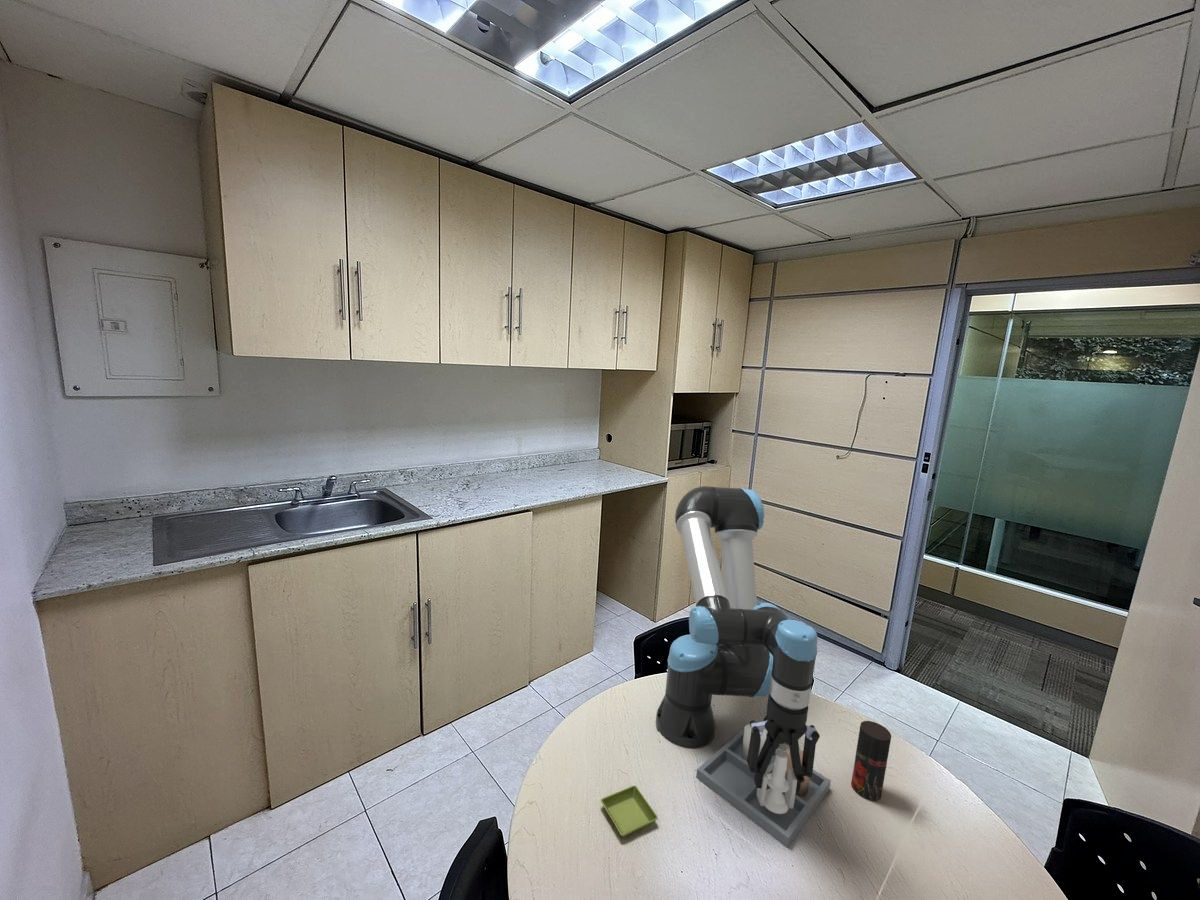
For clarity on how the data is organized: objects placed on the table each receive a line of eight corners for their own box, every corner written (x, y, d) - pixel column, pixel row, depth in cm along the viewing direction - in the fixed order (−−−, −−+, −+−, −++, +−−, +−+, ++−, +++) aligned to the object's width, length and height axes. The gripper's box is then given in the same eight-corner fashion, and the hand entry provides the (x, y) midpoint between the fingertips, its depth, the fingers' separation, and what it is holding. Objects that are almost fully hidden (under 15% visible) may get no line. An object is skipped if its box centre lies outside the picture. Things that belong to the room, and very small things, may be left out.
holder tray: (696, 779, 105) (697, 769, 105) (743, 735, 120) (745, 727, 119) (786, 849, 90) (788, 838, 90) (829, 790, 105) (830, 780, 104)
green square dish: (620, 845, 89) (621, 835, 89) (598, 807, 97) (599, 798, 96) (658, 827, 93) (658, 818, 93) (634, 793, 101) (635, 784, 101)
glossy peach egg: (776, 784, 105) (780, 756, 104) (787, 771, 109) (791, 744, 108) (801, 801, 101) (805, 771, 100) (811, 787, 105) (815, 759, 104)
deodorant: (885, 805, 102) (895, 742, 100) (855, 799, 103) (865, 737, 101) (875, 783, 107) (885, 723, 106) (847, 777, 109) (856, 718, 107)
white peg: (757, 791, 100) (764, 740, 99) (782, 792, 100) (789, 742, 99) (766, 813, 95) (773, 760, 93) (792, 815, 95) (800, 762, 93)
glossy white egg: (736, 757, 112) (740, 730, 111) (748, 746, 116) (751, 720, 115) (758, 771, 108) (761, 744, 107) (769, 759, 112) (773, 733, 111)
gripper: (748, 707, 91) (735, 813, 94) (843, 715, 91) (826, 821, 94) (738, 683, 98) (726, 782, 101) (825, 690, 98) (811, 789, 101)
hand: (774, 801), depth 98 cm, fingers closed on white peg, 5 cm apart
